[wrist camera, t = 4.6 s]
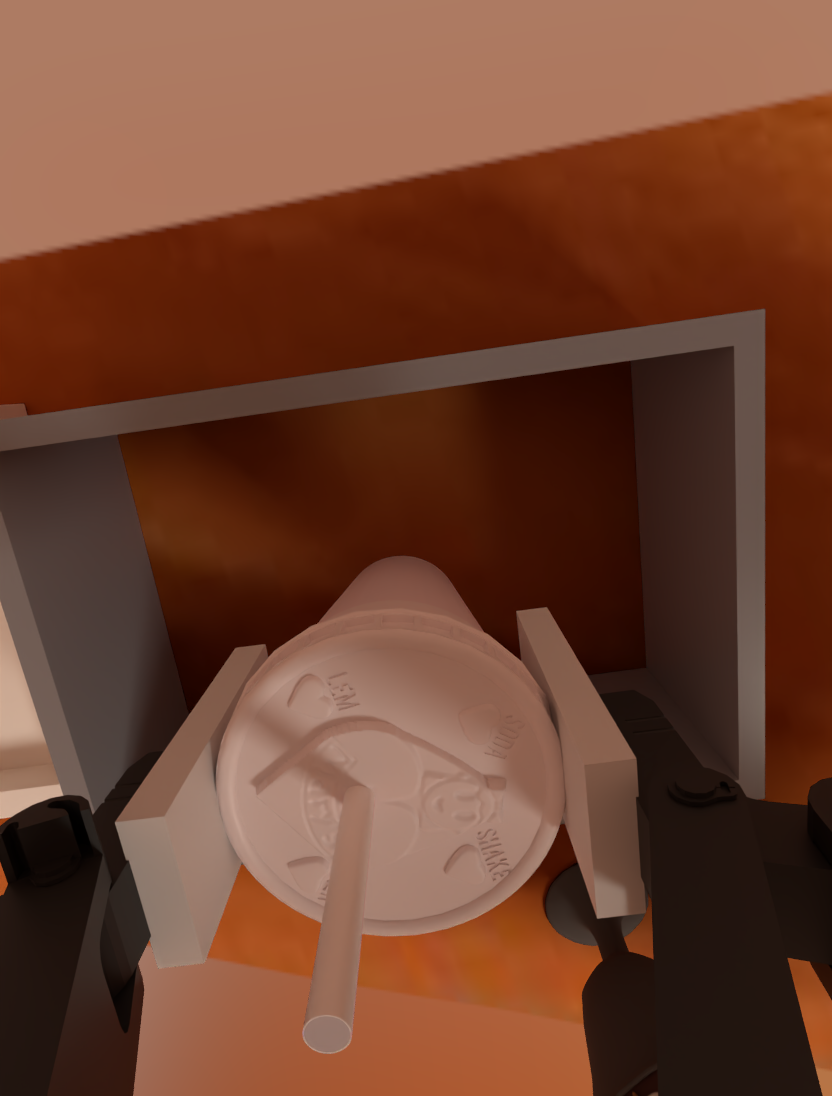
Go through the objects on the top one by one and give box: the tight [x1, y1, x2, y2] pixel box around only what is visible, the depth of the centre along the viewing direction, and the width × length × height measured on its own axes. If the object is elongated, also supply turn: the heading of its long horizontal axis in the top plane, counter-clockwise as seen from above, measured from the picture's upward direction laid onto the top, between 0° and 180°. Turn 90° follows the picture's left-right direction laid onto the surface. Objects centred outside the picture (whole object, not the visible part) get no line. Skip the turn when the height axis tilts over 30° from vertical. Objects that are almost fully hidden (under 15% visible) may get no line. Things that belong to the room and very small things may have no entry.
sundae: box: [545, 863, 658, 1096], centre depth 23 cm, size 7×7×15 cm
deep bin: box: [0, 309, 765, 865], centre depth 22 cm, size 22×15×8 cm
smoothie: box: [216, 556, 566, 1054], centre depth 14 cm, size 6×6×14 cm
